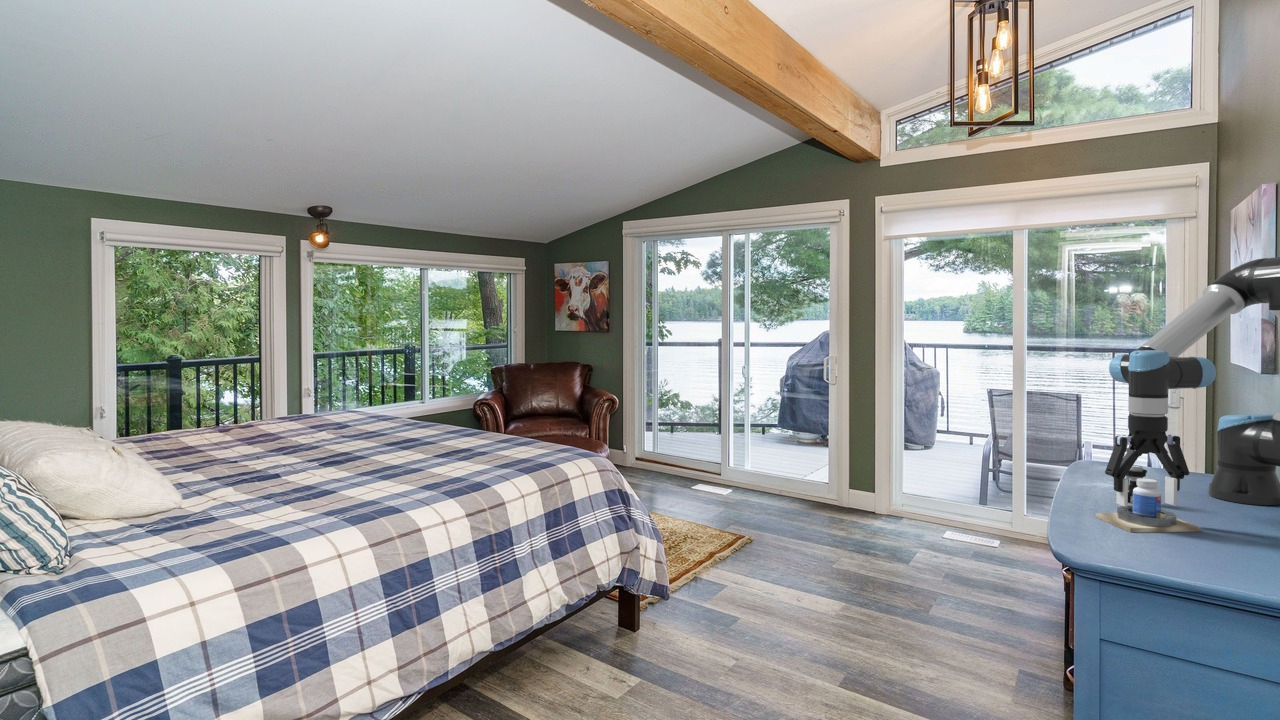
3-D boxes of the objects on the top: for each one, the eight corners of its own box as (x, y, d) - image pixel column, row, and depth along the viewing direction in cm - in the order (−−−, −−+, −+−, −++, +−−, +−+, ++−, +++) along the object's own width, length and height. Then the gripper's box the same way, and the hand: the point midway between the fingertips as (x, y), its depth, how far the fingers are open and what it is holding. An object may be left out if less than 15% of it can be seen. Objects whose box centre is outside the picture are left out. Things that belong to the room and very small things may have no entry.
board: (1160, 516, 162) (1160, 512, 162) (1200, 531, 150) (1200, 527, 150) (1095, 517, 163) (1095, 513, 163) (1130, 532, 151) (1130, 528, 151)
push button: (1114, 502, 176) (1114, 465, 175) (1117, 498, 179) (1118, 462, 179) (1144, 506, 171) (1145, 469, 170) (1147, 502, 175) (1148, 465, 174)
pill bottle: (1162, 524, 153) (1162, 483, 152) (1133, 521, 156) (1134, 481, 155) (1159, 518, 157) (1159, 478, 157) (1131, 515, 160) (1131, 476, 160)
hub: (1151, 513, 162) (1152, 502, 162) (1187, 526, 151) (1188, 514, 151) (1107, 513, 162) (1107, 502, 162) (1139, 527, 151) (1139, 515, 151)
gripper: (1184, 411, 159) (1183, 499, 160) (1087, 413, 159) (1087, 501, 160) (1210, 415, 151) (1208, 508, 152) (1109, 417, 152) (1107, 509, 153)
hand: (1146, 504), depth 156 cm, fingers open, 11 cm apart
